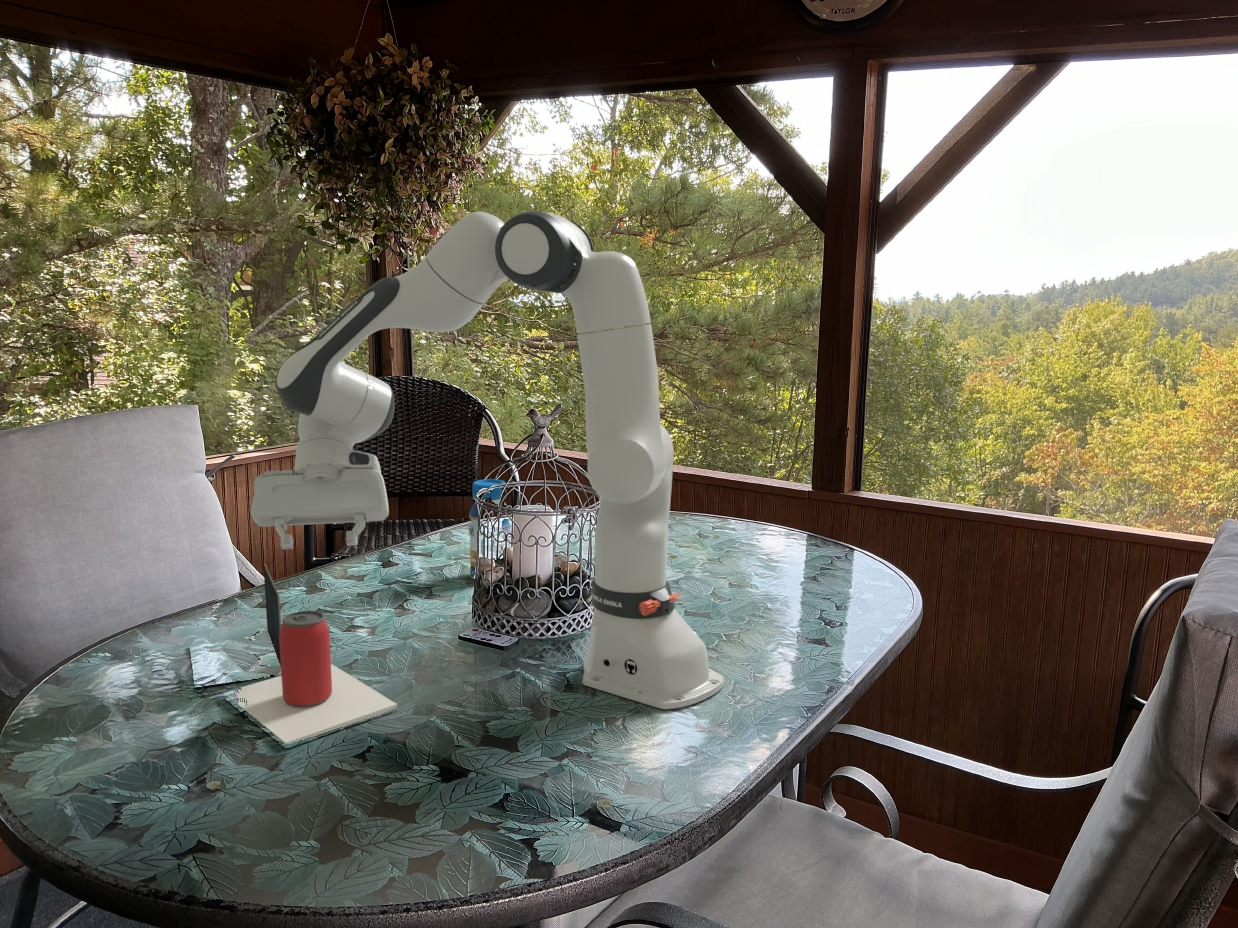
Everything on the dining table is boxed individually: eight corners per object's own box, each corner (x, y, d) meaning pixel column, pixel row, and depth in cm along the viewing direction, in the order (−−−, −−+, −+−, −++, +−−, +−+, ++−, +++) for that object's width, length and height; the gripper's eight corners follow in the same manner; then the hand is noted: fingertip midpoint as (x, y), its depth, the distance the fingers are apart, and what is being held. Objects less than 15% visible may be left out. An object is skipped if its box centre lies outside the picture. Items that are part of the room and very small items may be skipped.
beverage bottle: (503, 584, 180) (502, 487, 176) (463, 581, 182) (461, 485, 178) (516, 572, 188) (515, 479, 184) (478, 569, 190) (476, 477, 186)
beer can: (312, 684, 131) (308, 605, 129) (342, 695, 127) (338, 615, 125) (273, 700, 126) (268, 618, 123) (302, 713, 122) (298, 629, 120)
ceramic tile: (397, 710, 125) (396, 703, 125) (286, 749, 114) (285, 742, 114) (328, 667, 139) (328, 661, 139) (223, 699, 128) (223, 692, 128)
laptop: (188, 648, 146) (182, 572, 144) (270, 636, 152) (266, 562, 150) (194, 692, 131) (187, 606, 128) (285, 676, 136) (280, 594, 134)
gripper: (250, 460, 139) (241, 539, 131) (386, 455, 142) (385, 531, 135) (259, 482, 144) (251, 559, 136) (390, 476, 147) (389, 551, 140)
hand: (319, 545), depth 135 cm, fingers open, 8 cm apart
